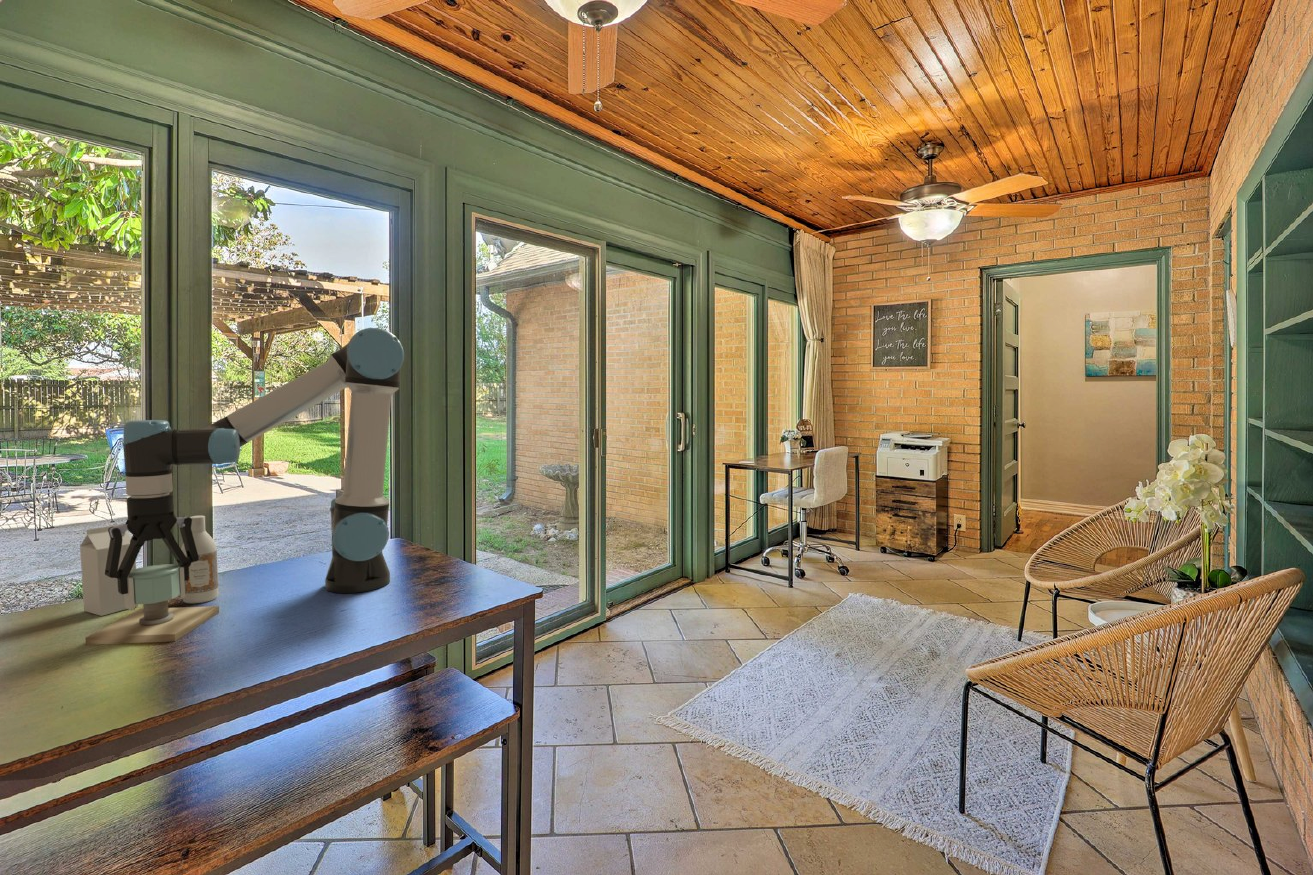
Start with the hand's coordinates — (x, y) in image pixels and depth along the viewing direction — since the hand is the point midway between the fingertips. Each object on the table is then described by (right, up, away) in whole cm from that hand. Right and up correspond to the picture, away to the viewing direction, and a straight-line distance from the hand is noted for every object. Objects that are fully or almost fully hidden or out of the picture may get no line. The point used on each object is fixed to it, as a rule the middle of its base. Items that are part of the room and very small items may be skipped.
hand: (155, 602), depth 132 cm
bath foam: (-4, -4, +18) cm, 19 cm away
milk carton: (-19, -5, +11) cm, 22 cm away
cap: (0, +1, 0) cm, 1 cm away
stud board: (0, -5, 0) cm, 6 cm away
